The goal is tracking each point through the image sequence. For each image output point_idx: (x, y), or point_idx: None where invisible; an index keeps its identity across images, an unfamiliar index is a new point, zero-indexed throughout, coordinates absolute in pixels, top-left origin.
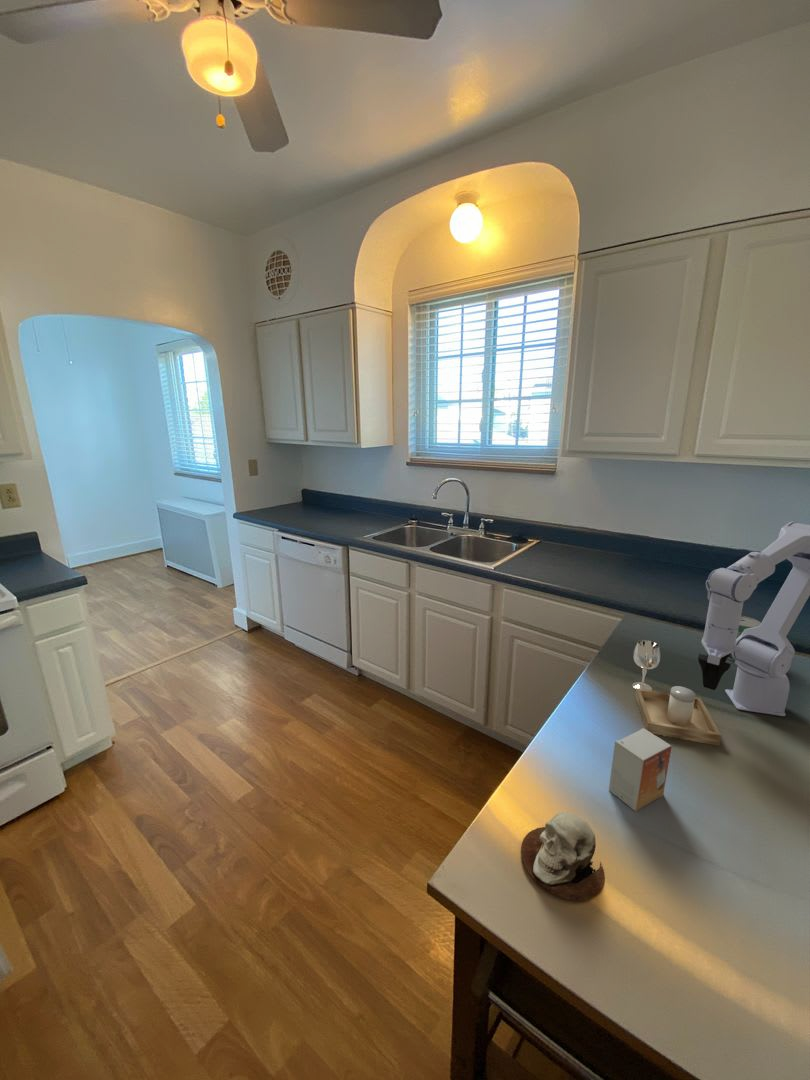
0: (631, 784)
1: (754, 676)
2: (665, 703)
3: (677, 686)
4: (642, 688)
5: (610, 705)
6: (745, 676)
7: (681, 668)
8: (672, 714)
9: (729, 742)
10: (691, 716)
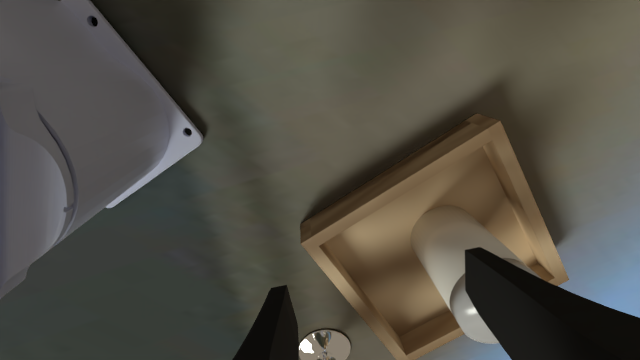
0: None
1: (73, 158)
2: (378, 287)
3: (470, 335)
4: (339, 348)
5: (474, 352)
6: (94, 192)
7: (98, 335)
8: None
9: (435, 97)
10: (465, 220)
